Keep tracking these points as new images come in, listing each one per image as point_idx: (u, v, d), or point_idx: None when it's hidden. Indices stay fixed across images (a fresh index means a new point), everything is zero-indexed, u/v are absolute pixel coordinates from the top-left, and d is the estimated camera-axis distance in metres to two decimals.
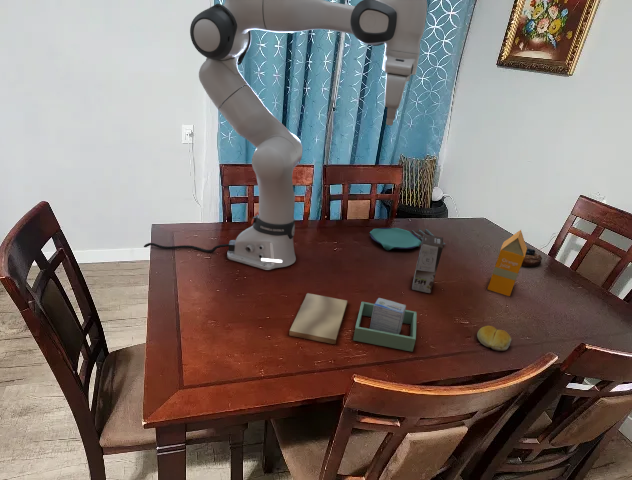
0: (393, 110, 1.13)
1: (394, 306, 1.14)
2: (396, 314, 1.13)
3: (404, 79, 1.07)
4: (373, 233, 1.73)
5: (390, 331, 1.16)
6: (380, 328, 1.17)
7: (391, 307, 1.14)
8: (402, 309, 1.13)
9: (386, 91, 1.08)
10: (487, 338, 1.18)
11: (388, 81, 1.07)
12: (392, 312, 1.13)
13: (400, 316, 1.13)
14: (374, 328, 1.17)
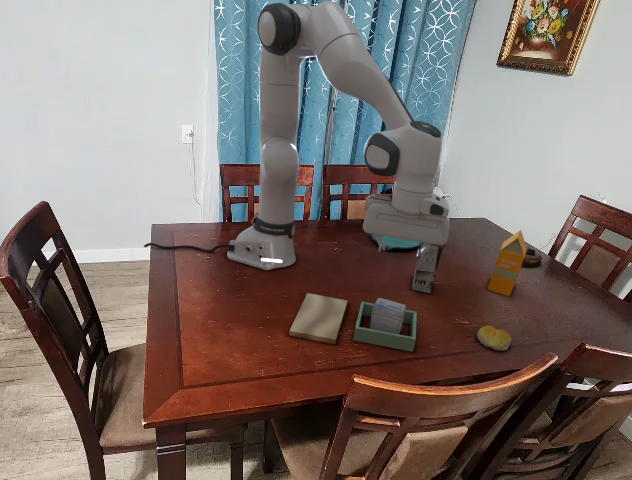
0: None
1: (394, 306, 1.14)
2: (396, 314, 1.13)
3: None
4: None
5: (390, 331, 1.16)
6: (380, 328, 1.17)
7: (391, 307, 1.14)
8: (402, 309, 1.13)
9: (448, 232, 1.01)
10: (487, 338, 1.18)
11: None
12: (392, 312, 1.13)
13: (400, 316, 1.13)
14: (374, 328, 1.17)
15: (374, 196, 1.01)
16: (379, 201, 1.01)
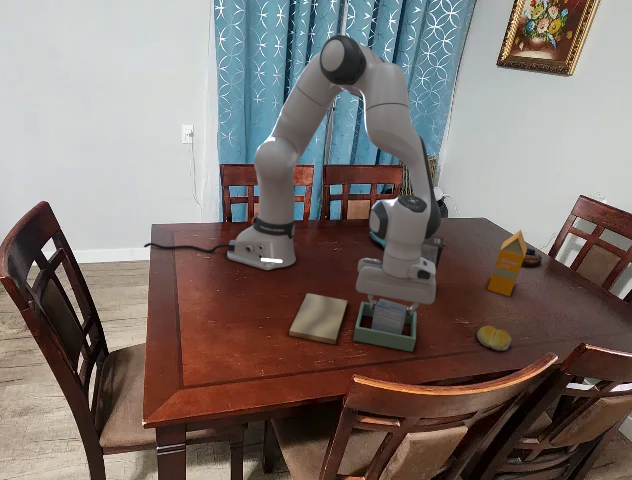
0: None
1: (396, 307, 1.14)
2: (398, 315, 1.13)
3: None
4: (373, 233, 1.73)
5: (392, 332, 1.16)
6: (382, 329, 1.17)
7: (393, 308, 1.13)
8: (403, 310, 1.13)
9: (435, 293, 1.09)
10: (487, 338, 1.18)
11: (435, 285, 1.08)
12: (394, 313, 1.13)
13: (402, 317, 1.13)
14: (376, 329, 1.17)
15: (366, 260, 1.09)
16: (371, 264, 1.09)
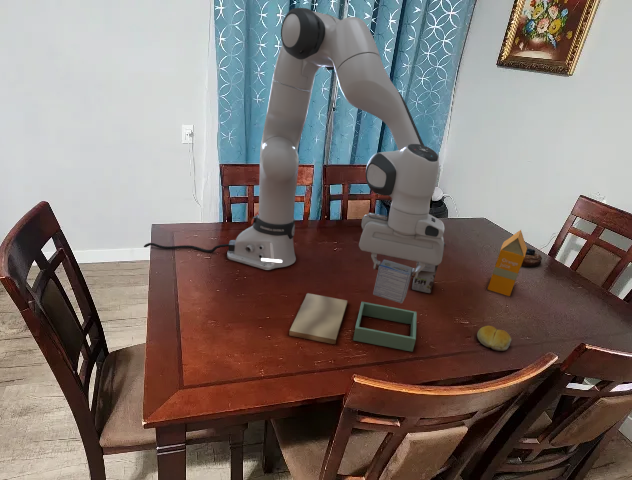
0: None
1: (400, 268, 1.08)
2: (402, 276, 1.07)
3: None
4: None
5: (395, 295, 1.10)
6: (385, 292, 1.11)
7: (397, 268, 1.07)
8: (408, 271, 1.07)
9: (442, 253, 1.03)
10: (487, 338, 1.18)
11: (443, 244, 1.02)
12: (399, 274, 1.07)
13: (407, 278, 1.07)
14: (378, 291, 1.11)
15: (371, 215, 1.02)
16: (376, 220, 1.03)
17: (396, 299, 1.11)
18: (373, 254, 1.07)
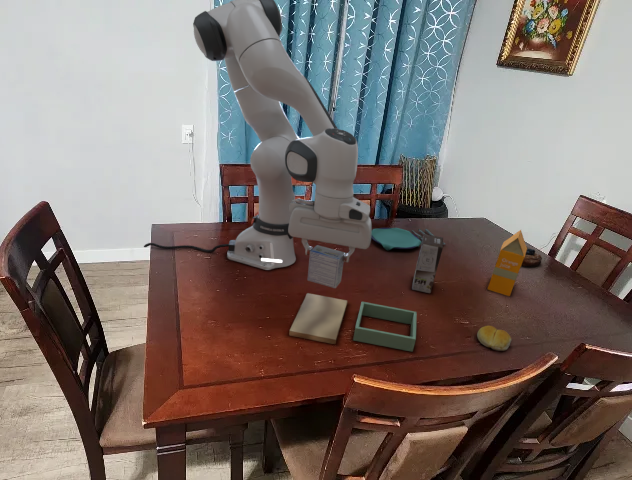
0: None
1: (331, 253, 1.09)
2: (333, 261, 1.08)
3: (369, 218, 1.06)
4: (373, 233, 1.73)
5: (328, 280, 1.11)
6: (318, 277, 1.12)
7: (328, 253, 1.08)
8: (339, 256, 1.08)
9: (369, 236, 1.04)
10: (487, 338, 1.18)
11: (369, 227, 1.03)
12: (329, 259, 1.08)
13: (337, 263, 1.08)
14: (312, 277, 1.12)
15: (297, 201, 1.04)
16: (303, 205, 1.04)
17: (329, 284, 1.12)
18: (303, 240, 1.08)
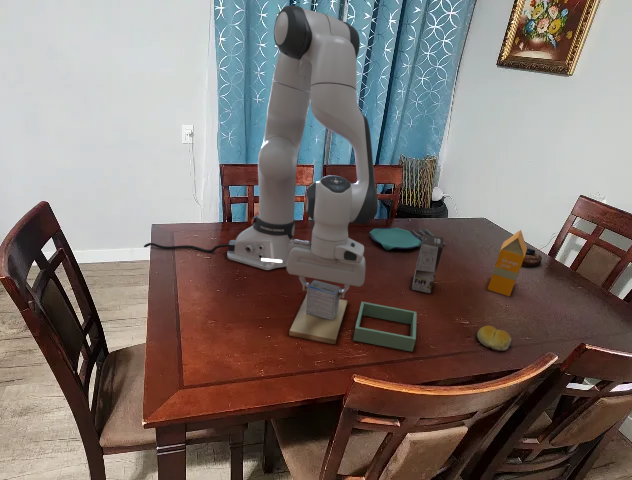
0: None
1: (328, 288, 1.14)
2: (329, 296, 1.13)
3: None
4: (373, 233, 1.73)
5: (325, 313, 1.17)
6: (316, 311, 1.17)
7: (325, 289, 1.14)
8: (335, 291, 1.14)
9: (363, 275, 1.10)
10: (487, 338, 1.18)
11: (363, 267, 1.08)
12: (326, 295, 1.13)
13: (333, 298, 1.13)
14: (310, 310, 1.18)
15: (295, 241, 1.09)
16: (300, 246, 1.09)
17: (327, 317, 1.17)
18: (301, 277, 1.13)
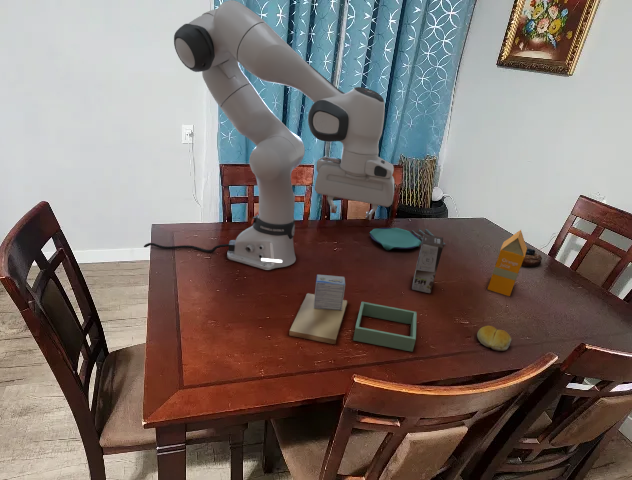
0: None
1: (335, 280, 1.19)
2: (339, 287, 1.18)
3: None
4: (373, 233, 1.73)
5: (334, 304, 1.21)
6: (325, 303, 1.21)
7: (333, 281, 1.18)
8: (343, 281, 1.19)
9: (392, 194, 1.09)
10: (487, 338, 1.18)
11: (393, 185, 1.08)
12: (335, 286, 1.18)
13: (343, 288, 1.18)
14: (318, 304, 1.21)
15: (324, 158, 1.09)
16: (329, 163, 1.09)
17: (336, 307, 1.22)
18: (329, 197, 1.13)
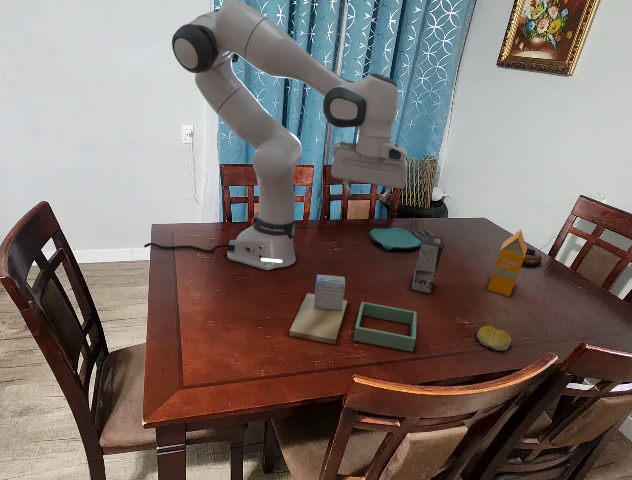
0: None
1: (335, 280, 1.19)
2: (339, 287, 1.18)
3: None
4: (373, 233, 1.73)
5: (334, 304, 1.21)
6: (325, 303, 1.21)
7: (333, 281, 1.18)
8: (343, 281, 1.19)
9: (406, 176, 1.14)
10: (487, 338, 1.18)
11: (406, 167, 1.13)
12: (335, 286, 1.18)
13: (343, 288, 1.18)
14: (318, 304, 1.21)
15: (340, 143, 1.14)
16: (345, 148, 1.14)
17: (336, 307, 1.22)
18: (345, 181, 1.18)
